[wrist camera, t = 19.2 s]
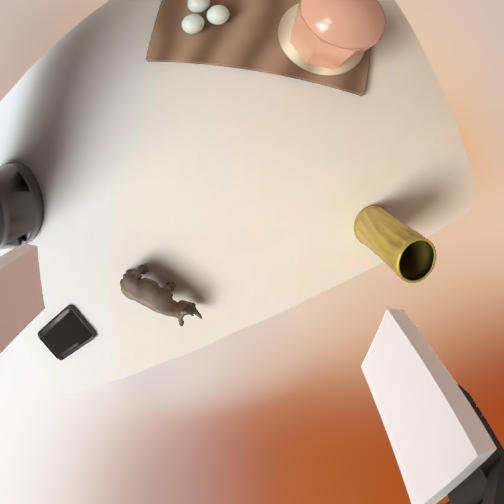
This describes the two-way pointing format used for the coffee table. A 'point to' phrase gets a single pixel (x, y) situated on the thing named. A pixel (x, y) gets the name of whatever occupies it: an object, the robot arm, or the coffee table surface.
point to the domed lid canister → (336, 30)
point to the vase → (395, 244)
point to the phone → (66, 333)
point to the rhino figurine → (155, 295)
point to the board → (240, 42)
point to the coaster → (295, 57)
